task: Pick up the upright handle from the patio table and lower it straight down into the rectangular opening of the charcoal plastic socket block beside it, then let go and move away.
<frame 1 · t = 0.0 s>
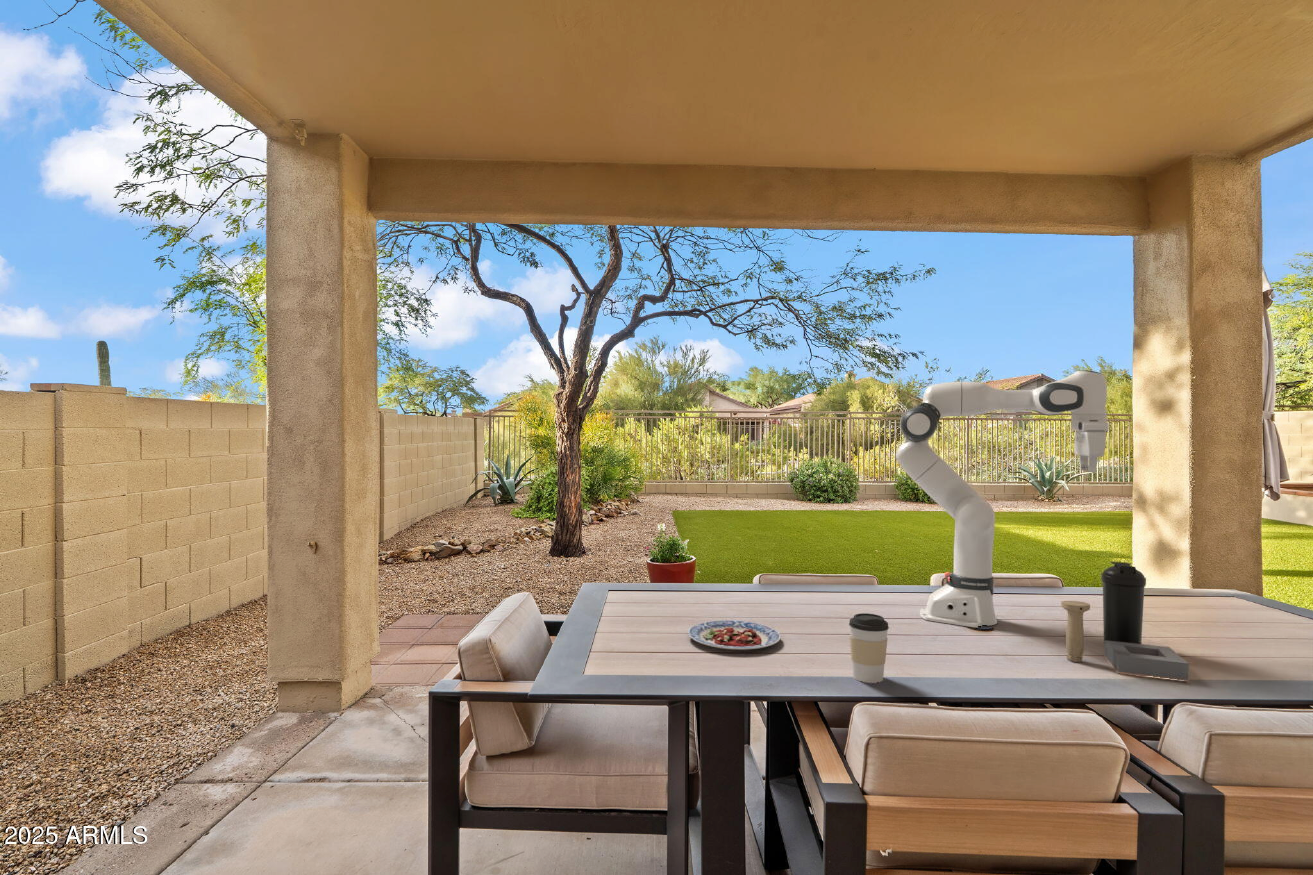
hand: (1088, 471, 196), 48 cm above the table, tool pointing down, fingers open, 8 cm apart
ceramic plate: (733, 641, 185), on the table
handle: (1074, 661, 171), on the table
coffee cup: (868, 678, 157), on the table
water bottle: (1122, 647, 183), on the table
socket block: (1144, 668, 165), on the table
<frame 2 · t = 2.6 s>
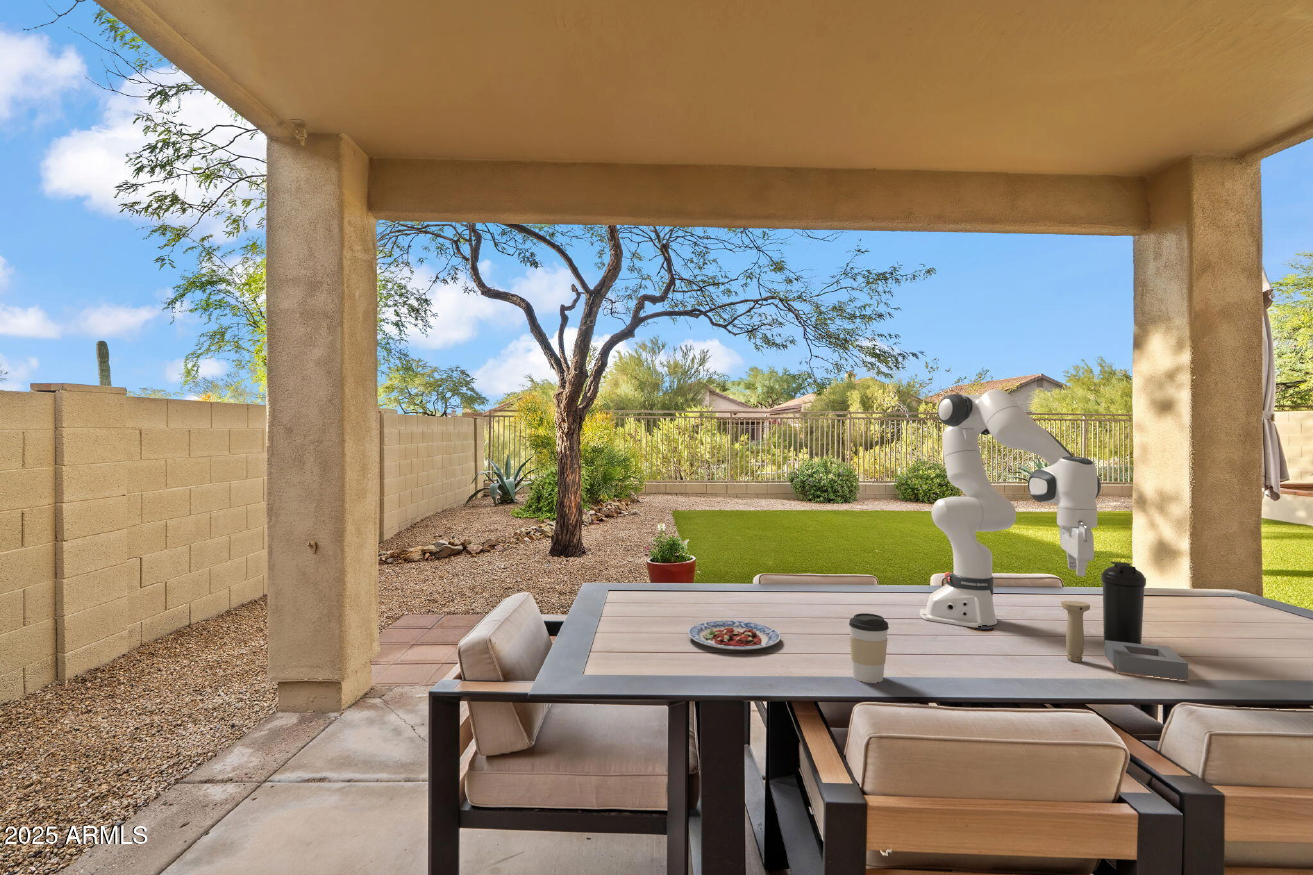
hand: (1076, 572, 171), 23 cm above the table, tool pointing down, fingers open, 8 cm apart
nothing on the table moved.
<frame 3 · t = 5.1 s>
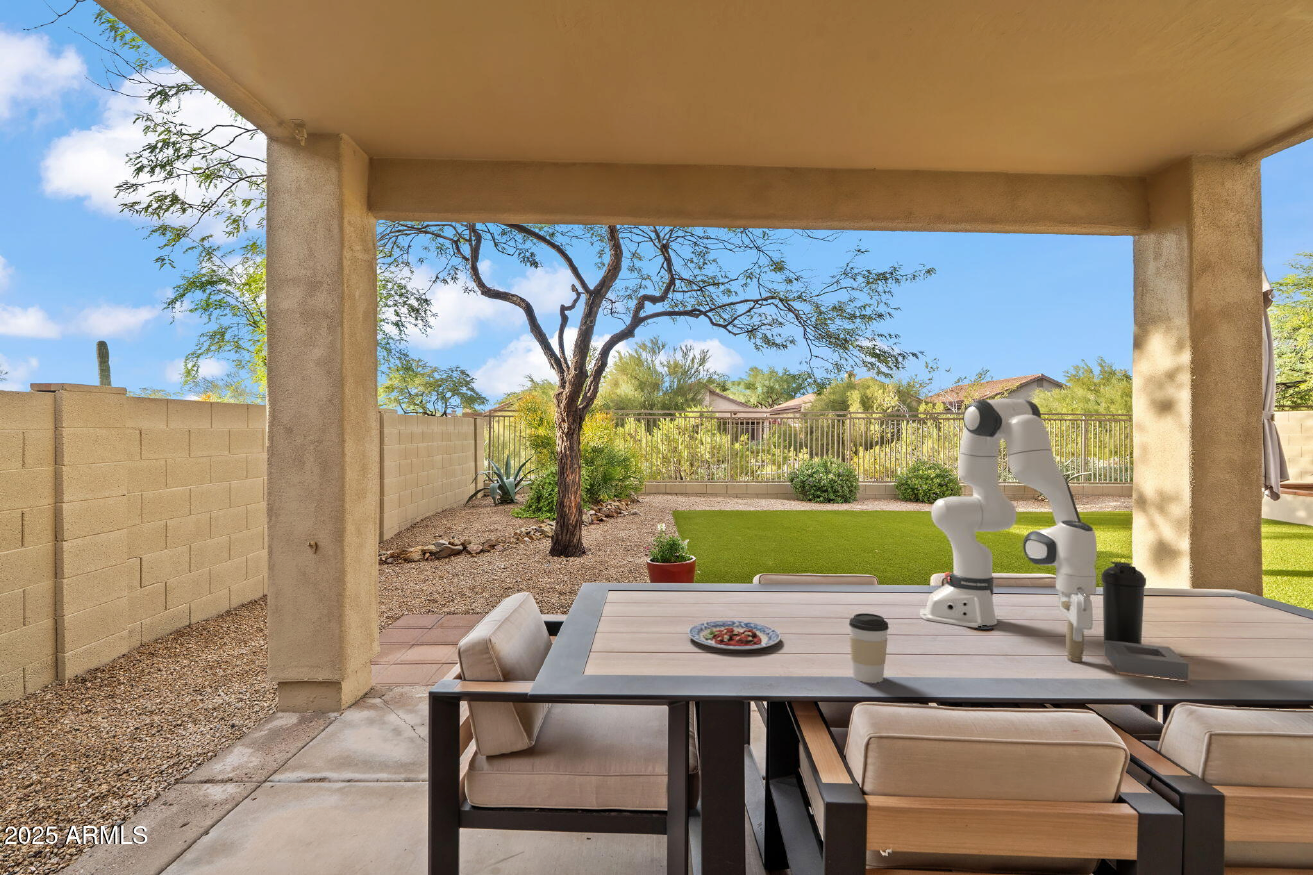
hand: (1074, 637, 171), 6 cm above the table, tool pointing down, fingers closed on handle, 4 cm apart
handle: (1074, 661, 171), on the table, touching gripper
everything else where it was.
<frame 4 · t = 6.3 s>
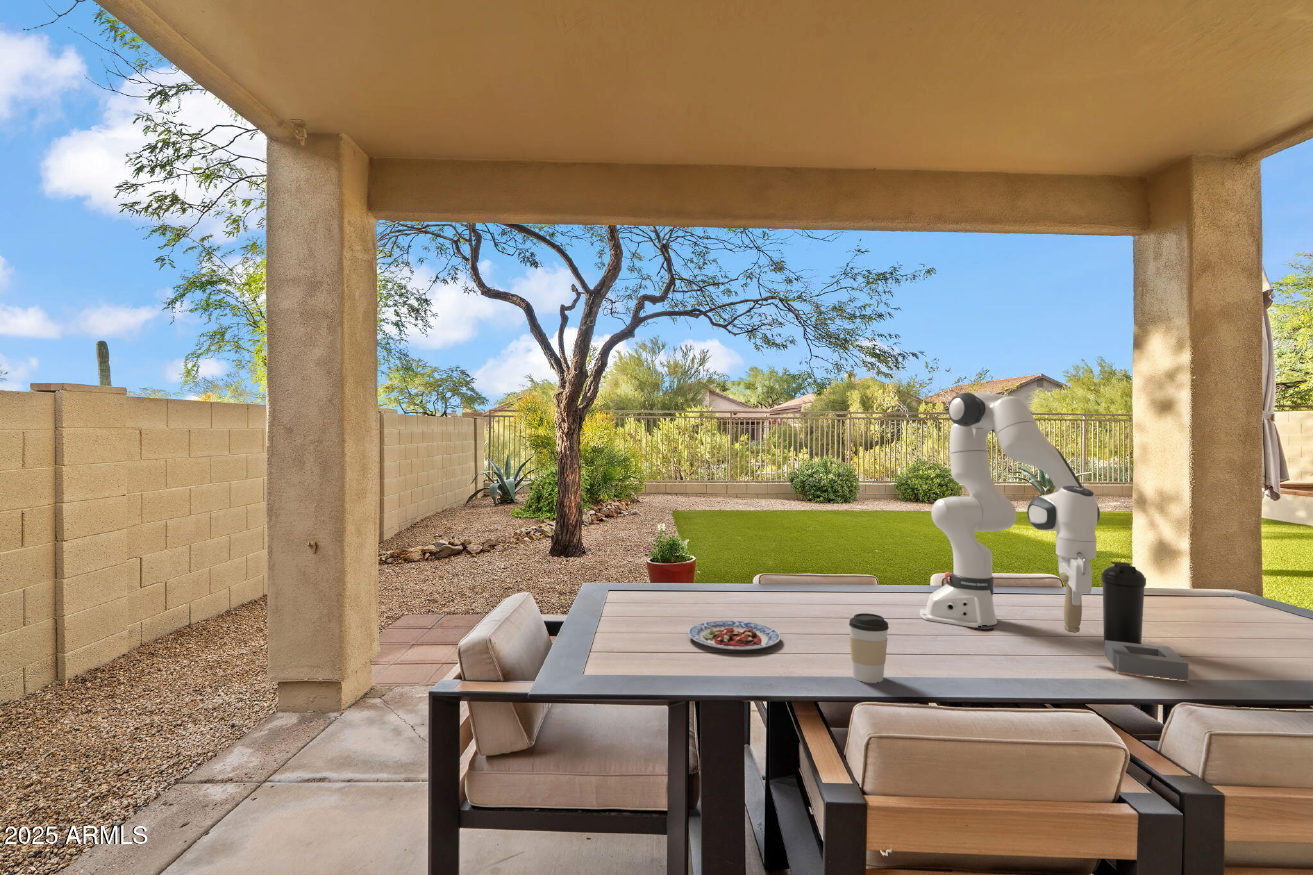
hand: (1073, 602, 171), 15 cm above the table, tool pointing down, fingers closed on handle, 3 cm apart
handle: (1071, 632, 172), point 7 cm above the table, touching gripper
everything else where it was.
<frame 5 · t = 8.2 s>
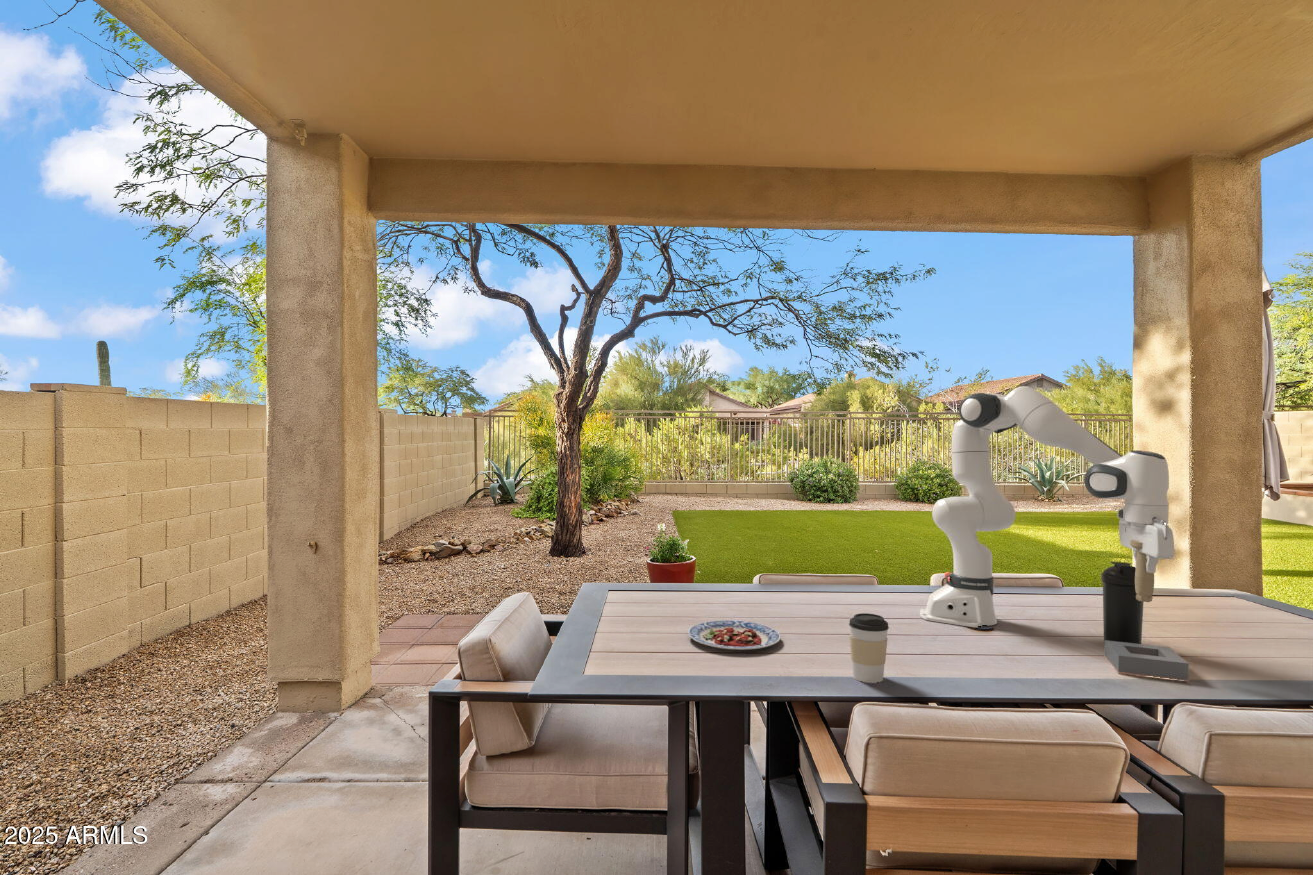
hand: (1145, 570, 165), 25 cm above the table, tool pointing down, fingers closed on handle, 3 cm apart
handle: (1144, 601, 165), point 17 cm above the table, touching gripper
everything else where it was.
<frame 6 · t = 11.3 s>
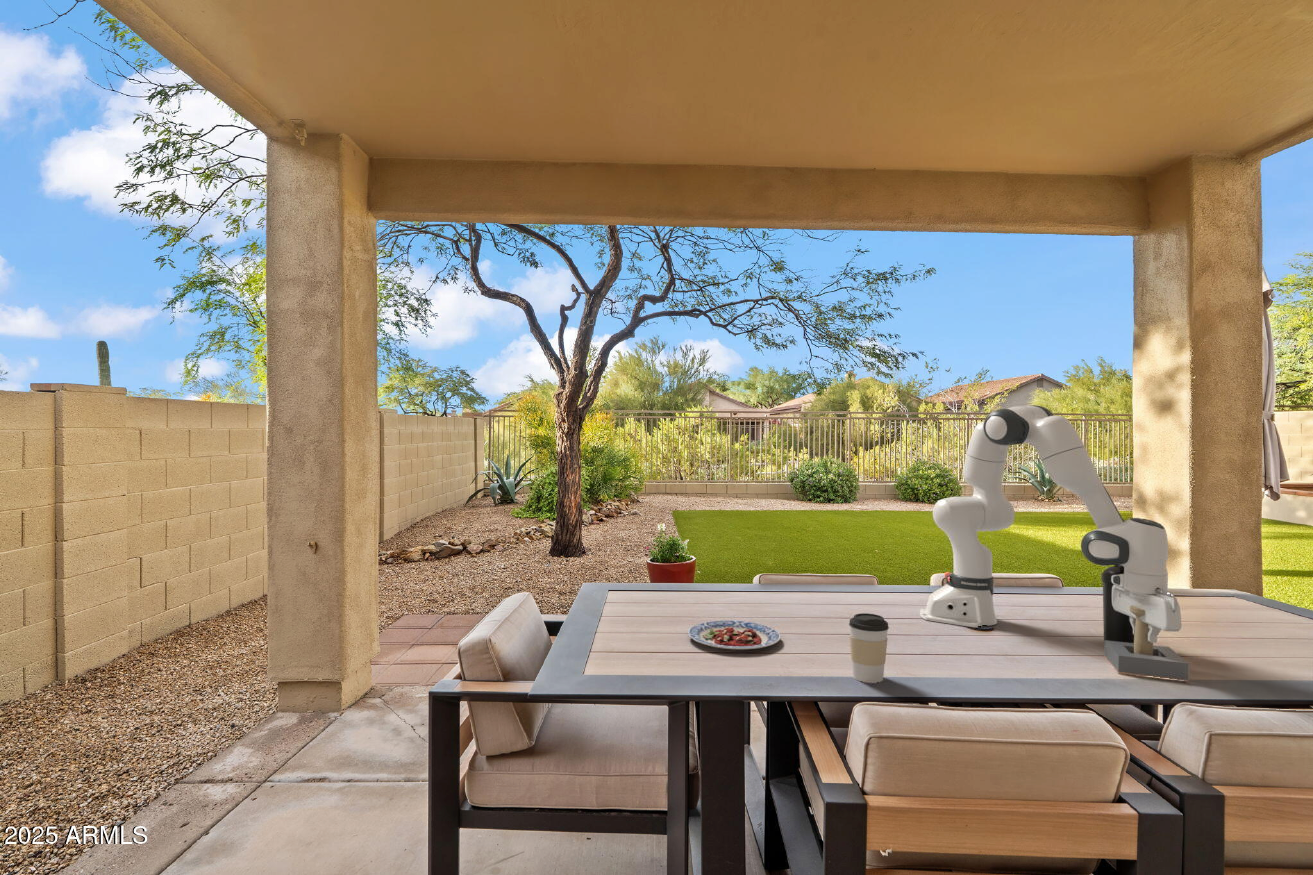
hand: (1144, 638, 165), 8 cm above the table, tool pointing down, fingers closed on handle, 3 cm apart
handle: (1143, 667, 165), resting on socket block, touching gripper
everything else where it was.
when the fingers open (8 cm above the table, at t = 11.5 s): handle stays where it is, resting on socket block.
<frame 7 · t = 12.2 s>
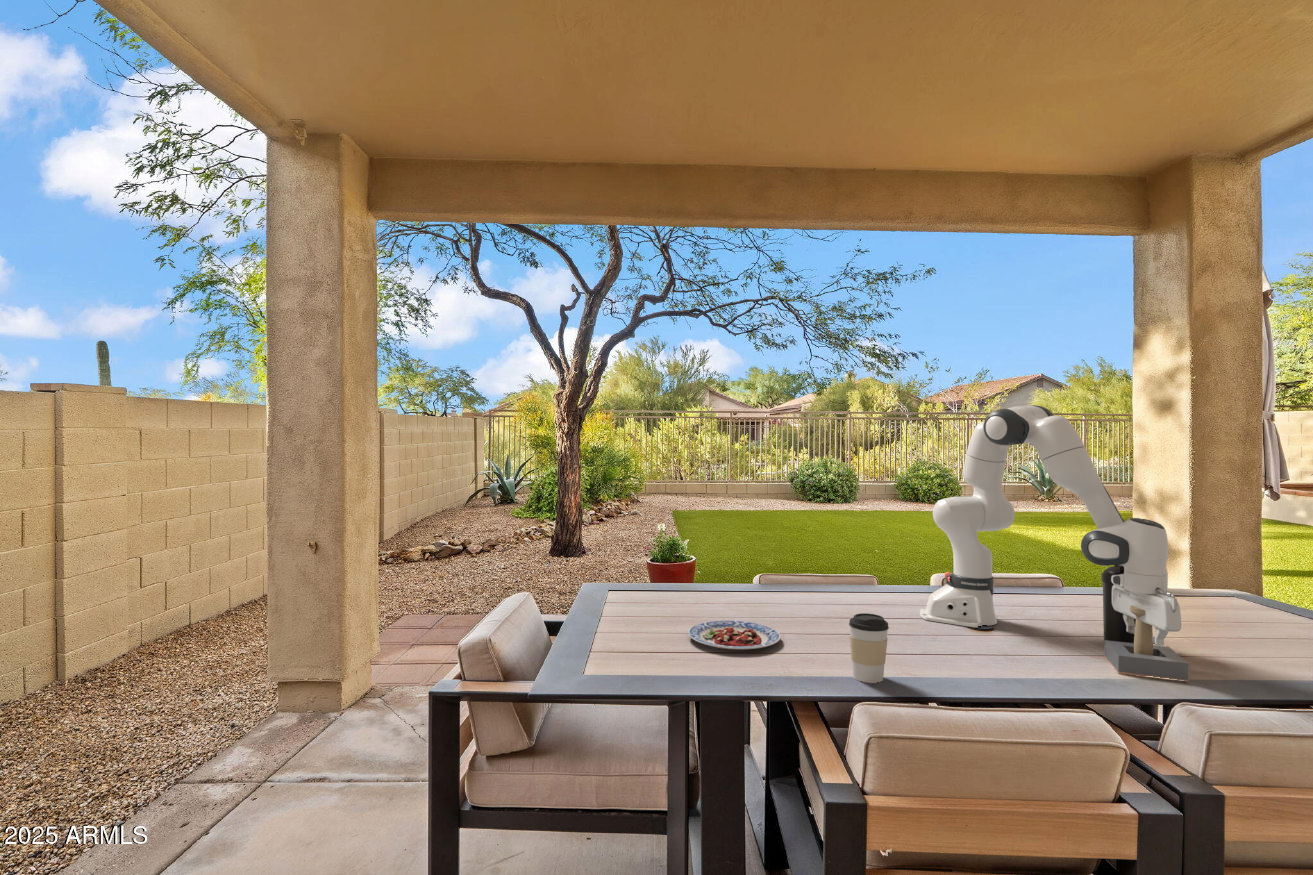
hand: (1144, 638, 165), 8 cm above the table, tool pointing down, fingers open, 8 cm apart
handle: (1143, 667, 165), resting on socket block
everything else where it was.
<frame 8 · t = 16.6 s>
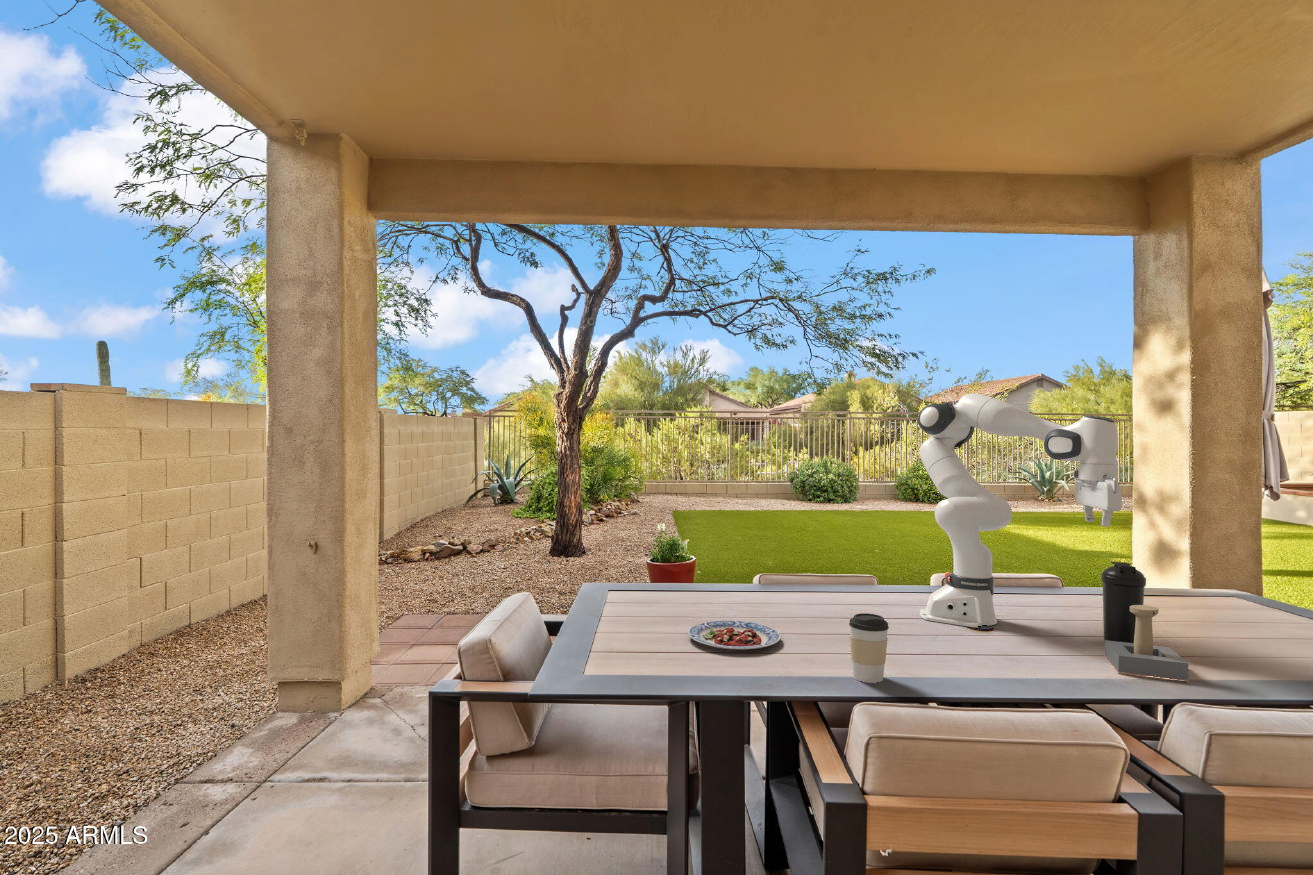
hand: (1097, 523, 183), 34 cm above the table, tool pointing down, fingers open, 8 cm apart
nothing on the table moved.
at the end: handle 0.2 cm off-centre on the socket block, point 0.3 cm above the socket block's base; handle tilted 0°; the gripper is holding nothing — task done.
